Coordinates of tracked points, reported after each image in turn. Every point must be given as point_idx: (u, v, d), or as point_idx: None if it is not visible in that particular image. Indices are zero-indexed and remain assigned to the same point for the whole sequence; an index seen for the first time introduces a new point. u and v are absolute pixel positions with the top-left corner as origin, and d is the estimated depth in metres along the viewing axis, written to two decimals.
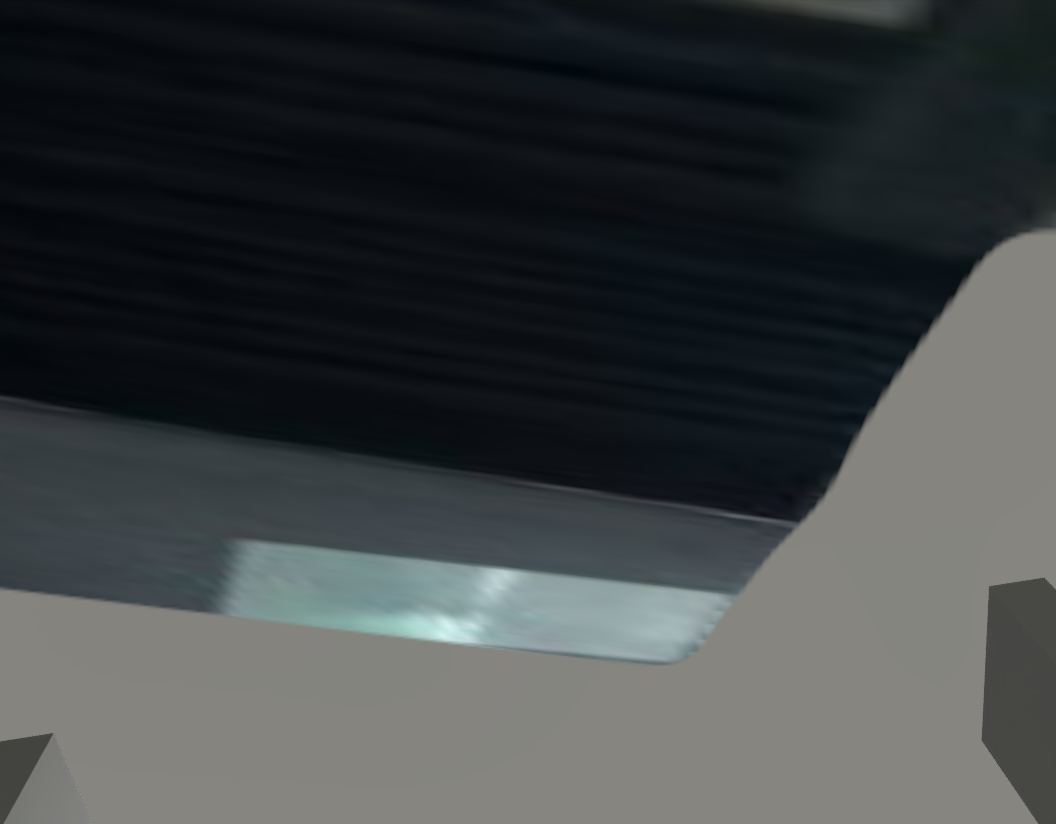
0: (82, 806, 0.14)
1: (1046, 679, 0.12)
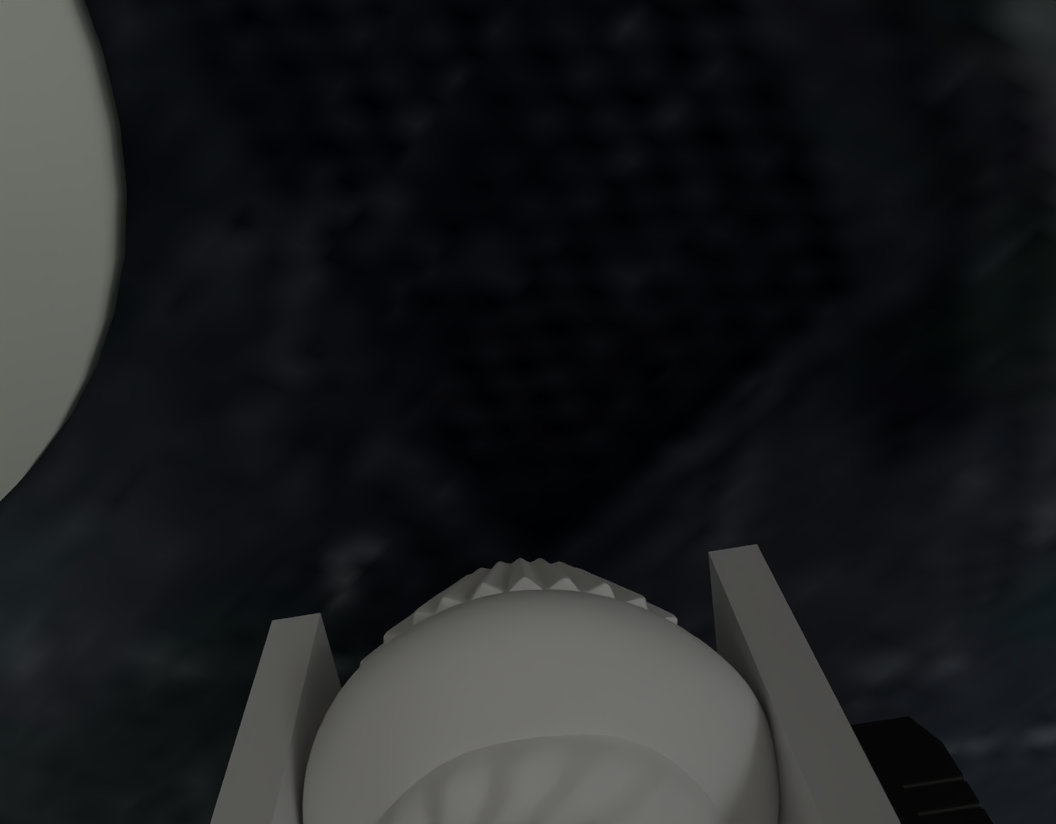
0: (336, 682, 0.16)
1: (734, 630, 0.14)
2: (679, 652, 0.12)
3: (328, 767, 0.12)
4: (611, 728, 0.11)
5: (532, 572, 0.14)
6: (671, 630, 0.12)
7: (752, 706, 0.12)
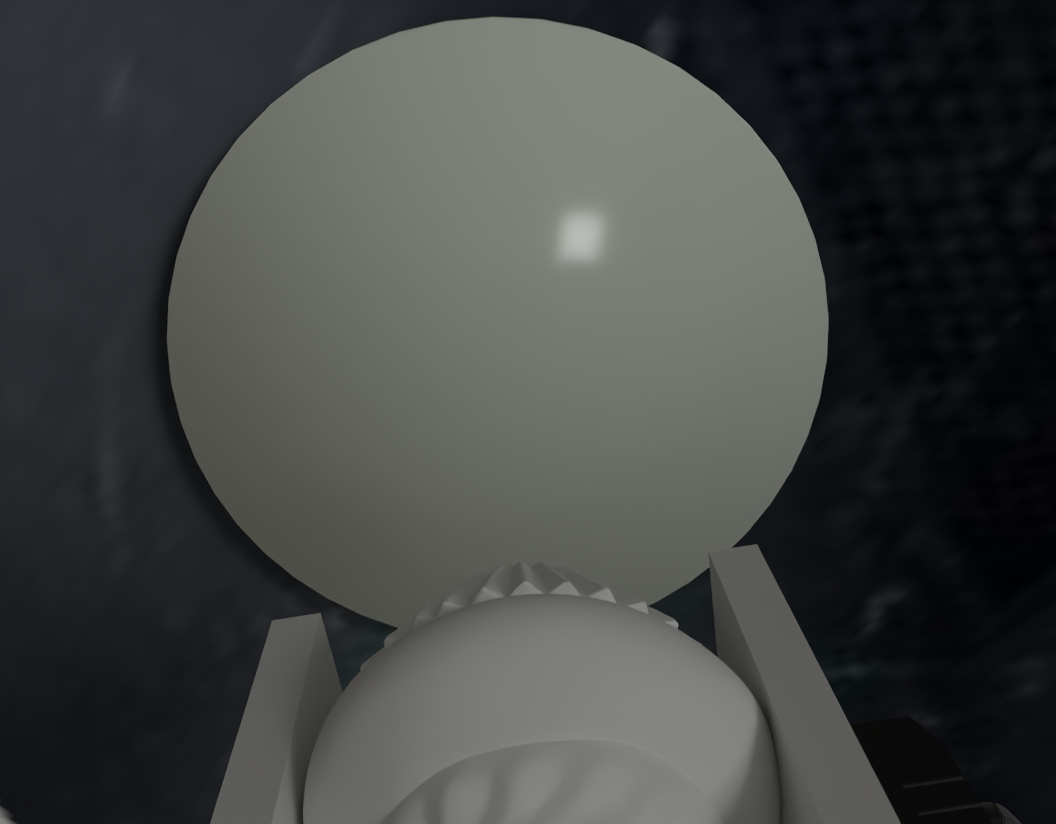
0: (336, 682, 0.16)
1: (734, 630, 0.14)
2: (680, 657, 0.12)
3: (328, 772, 0.12)
4: (612, 733, 0.11)
5: (533, 576, 0.14)
6: (672, 635, 0.12)
7: (753, 711, 0.12)
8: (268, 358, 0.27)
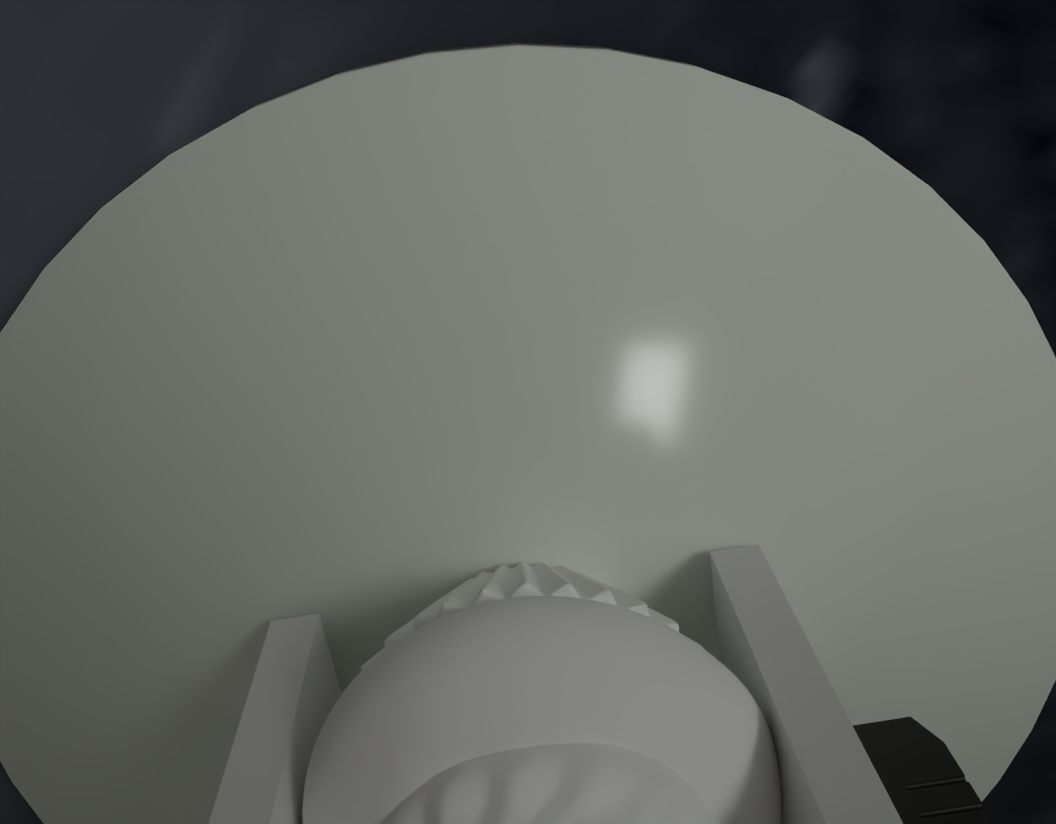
0: (335, 682, 0.16)
1: (735, 630, 0.14)
2: (680, 660, 0.12)
3: (328, 773, 0.12)
4: (612, 736, 0.11)
5: (534, 577, 0.14)
6: (673, 638, 0.12)
7: (754, 714, 0.12)
8: (125, 630, 0.15)
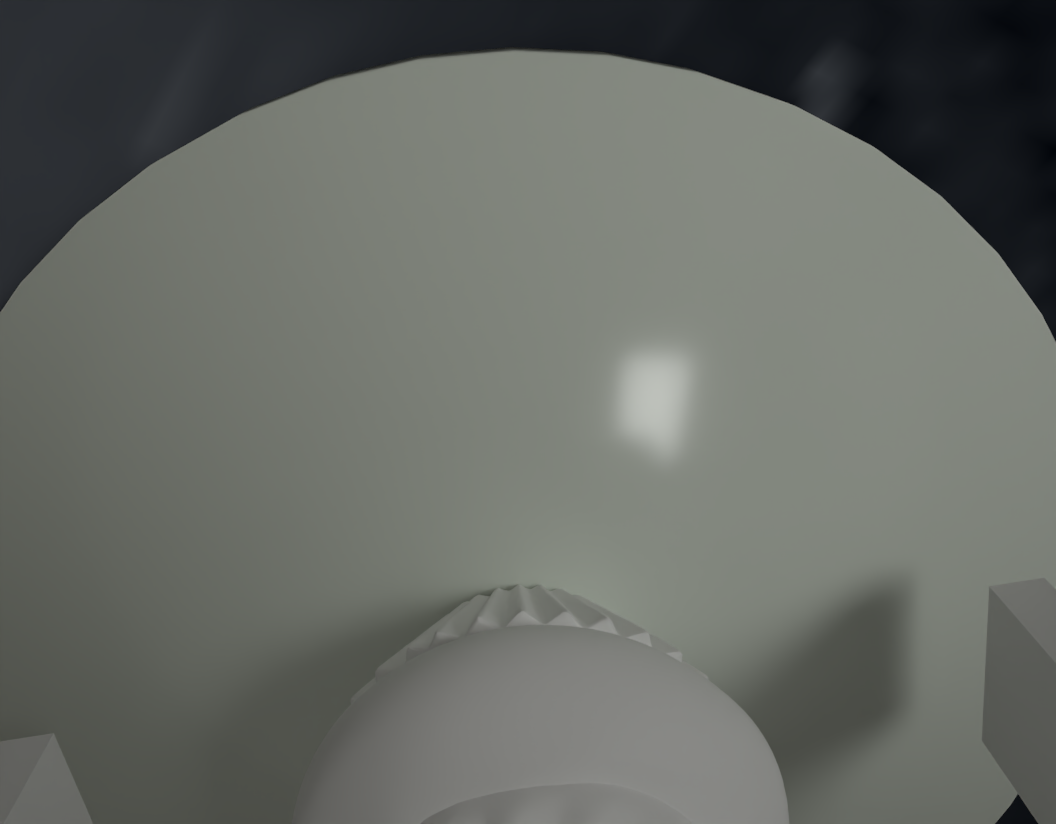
0: (82, 806, 0.14)
1: (1047, 679, 0.12)
2: (684, 694, 0.11)
3: (315, 813, 0.11)
4: (613, 776, 0.11)
5: (531, 602, 0.13)
6: (676, 670, 0.11)
7: (761, 750, 0.11)
8: (108, 656, 0.15)
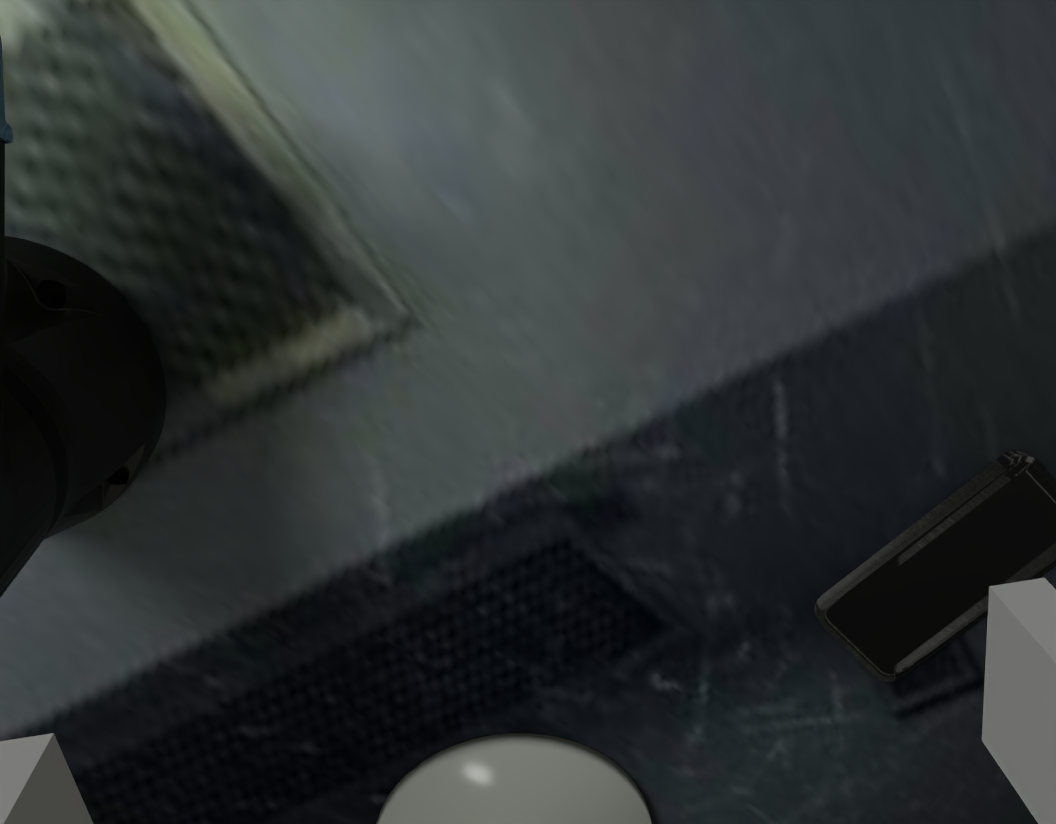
0: (82, 806, 0.14)
1: (1046, 679, 0.12)
2: None
3: None
4: None
5: None
6: None
7: None
8: None
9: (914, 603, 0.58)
